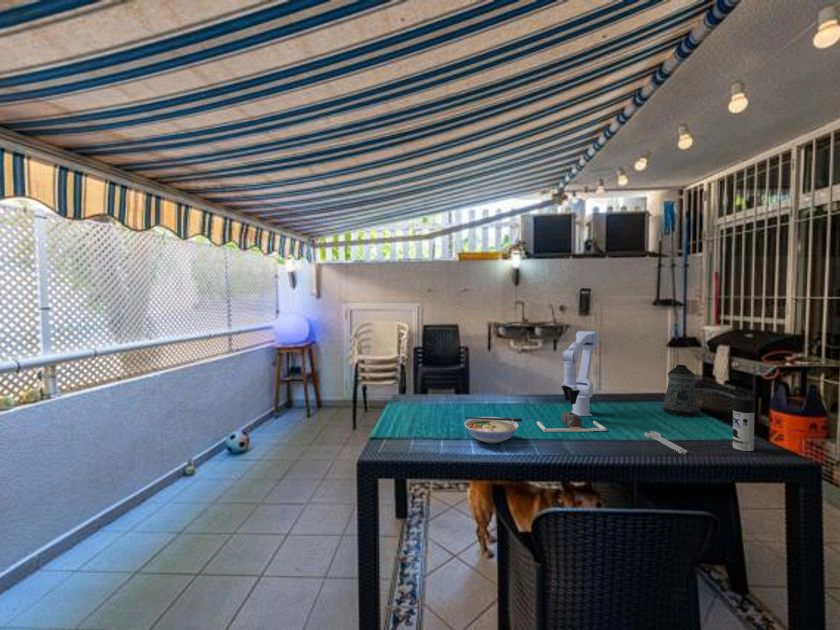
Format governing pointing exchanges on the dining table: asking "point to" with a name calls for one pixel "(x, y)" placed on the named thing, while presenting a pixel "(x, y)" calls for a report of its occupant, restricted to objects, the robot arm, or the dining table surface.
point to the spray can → (743, 424)
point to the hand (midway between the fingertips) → (570, 402)
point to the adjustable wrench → (664, 441)
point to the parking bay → (574, 428)
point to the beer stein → (681, 393)
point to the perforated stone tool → (571, 419)
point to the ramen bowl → (491, 428)
